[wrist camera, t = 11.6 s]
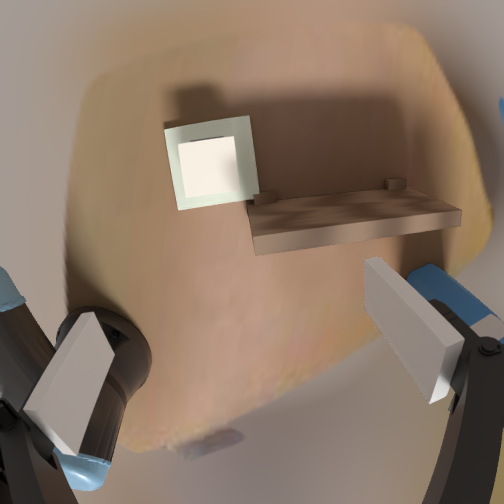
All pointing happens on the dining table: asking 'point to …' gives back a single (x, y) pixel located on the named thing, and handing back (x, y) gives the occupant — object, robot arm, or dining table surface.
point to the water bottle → (456, 300)
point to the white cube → (209, 166)
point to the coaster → (244, 157)
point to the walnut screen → (345, 217)
